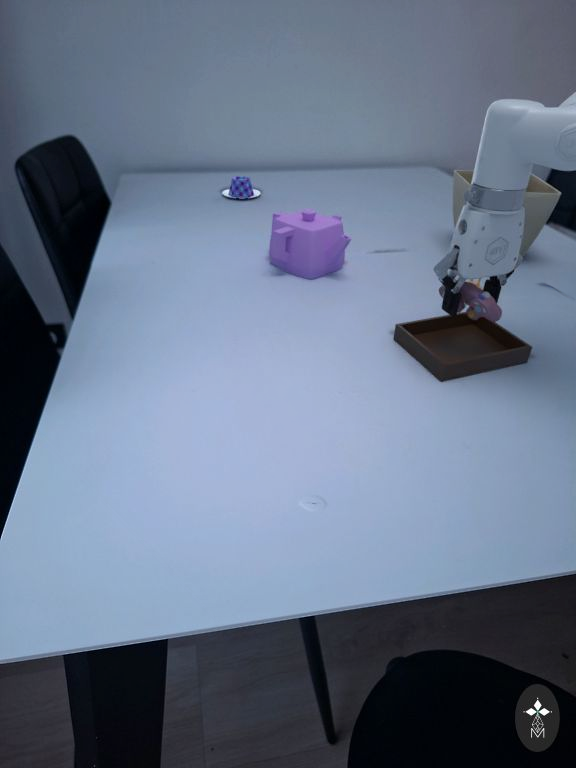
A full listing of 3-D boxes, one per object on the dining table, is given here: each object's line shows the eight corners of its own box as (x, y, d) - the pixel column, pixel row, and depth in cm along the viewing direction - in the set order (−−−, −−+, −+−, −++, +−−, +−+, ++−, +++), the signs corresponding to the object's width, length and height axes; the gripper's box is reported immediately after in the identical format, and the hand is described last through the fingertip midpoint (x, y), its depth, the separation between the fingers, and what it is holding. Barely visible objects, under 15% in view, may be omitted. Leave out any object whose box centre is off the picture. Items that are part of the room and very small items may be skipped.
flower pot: (540, 266, 124) (563, 192, 114) (459, 264, 123) (476, 190, 114) (511, 239, 140) (530, 171, 130) (439, 237, 139) (452, 169, 130)
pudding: (220, 190, 171) (220, 173, 168) (257, 190, 173) (257, 173, 170) (223, 201, 161) (223, 183, 158) (263, 200, 163) (263, 182, 160)
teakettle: (269, 251, 127) (269, 198, 120) (339, 252, 128) (344, 200, 121) (268, 280, 113) (269, 222, 106) (348, 281, 114) (353, 224, 107)
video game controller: (437, 313, 91) (432, 283, 85) (454, 296, 92) (450, 265, 86) (487, 336, 84) (485, 305, 79) (505, 317, 85) (504, 286, 80)
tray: (473, 324, 99) (476, 309, 97) (527, 362, 88) (532, 346, 86) (393, 339, 93) (395, 323, 92) (440, 381, 83) (444, 365, 81)
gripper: (462, 209, 71) (437, 327, 81) (561, 199, 76) (526, 311, 86) (429, 194, 76) (410, 306, 86) (524, 186, 82) (495, 292, 92)
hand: (468, 308), depth 86 cm, fingers closed on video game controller, 7 cm apart
